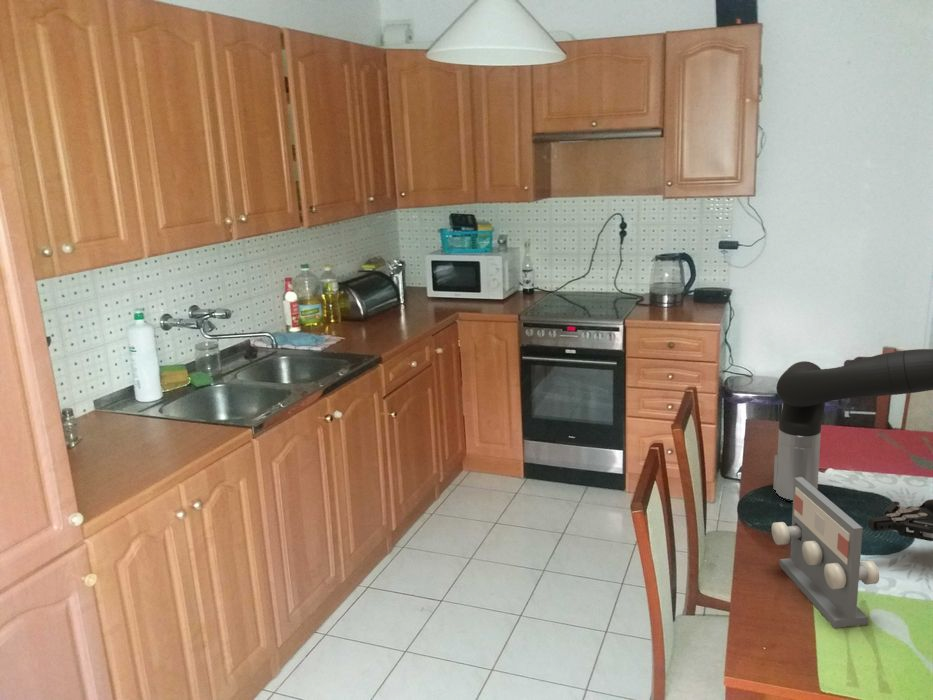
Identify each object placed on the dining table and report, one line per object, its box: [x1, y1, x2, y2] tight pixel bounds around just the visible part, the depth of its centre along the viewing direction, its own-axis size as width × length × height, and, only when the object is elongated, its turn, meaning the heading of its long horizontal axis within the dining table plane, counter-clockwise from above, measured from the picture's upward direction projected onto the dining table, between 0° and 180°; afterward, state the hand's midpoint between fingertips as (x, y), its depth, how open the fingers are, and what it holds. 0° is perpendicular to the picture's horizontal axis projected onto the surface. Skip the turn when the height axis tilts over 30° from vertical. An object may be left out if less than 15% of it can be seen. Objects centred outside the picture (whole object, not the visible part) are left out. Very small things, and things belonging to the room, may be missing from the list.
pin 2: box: [824, 560, 880, 589], centre depth 136 cm, size 8×4×4 cm, turn 94°
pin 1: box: [771, 521, 802, 546], centre depth 151 cm, size 8×4×4 cm, turn 94°
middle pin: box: [802, 541, 823, 565], centre depth 144 cm, size 8×4×4 cm, turn 94°
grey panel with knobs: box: [778, 477, 868, 629], centre depth 143 cm, size 6×21×20 cm, turn 4°
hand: (870, 524), depth 152 cm, fingers closed
